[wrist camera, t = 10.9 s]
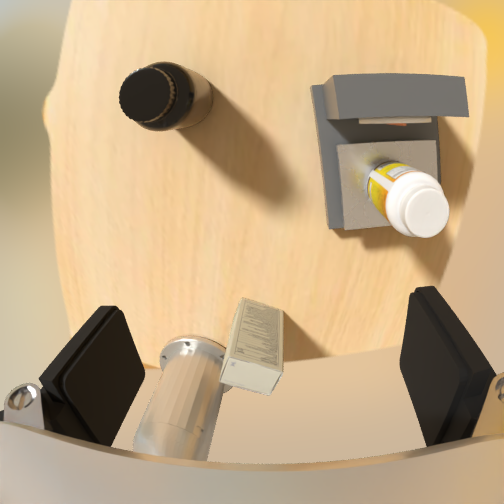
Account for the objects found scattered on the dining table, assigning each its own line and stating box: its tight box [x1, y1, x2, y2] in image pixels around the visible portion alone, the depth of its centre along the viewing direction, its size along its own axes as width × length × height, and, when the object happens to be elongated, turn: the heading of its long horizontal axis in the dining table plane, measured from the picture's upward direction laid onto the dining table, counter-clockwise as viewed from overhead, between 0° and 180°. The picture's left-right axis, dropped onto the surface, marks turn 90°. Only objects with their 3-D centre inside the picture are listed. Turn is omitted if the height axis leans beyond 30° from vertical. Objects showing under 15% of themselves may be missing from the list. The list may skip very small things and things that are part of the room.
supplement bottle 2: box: [367, 161, 449, 238], centre depth 26 cm, size 6×6×10 cm
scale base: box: [310, 73, 469, 229], centre depth 29 cm, size 16×14×11 cm
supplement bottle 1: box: [119, 62, 213, 131], centre depth 28 cm, size 7×7×12 cm
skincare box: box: [219, 298, 284, 395], centre depth 38 cm, size 6×4×12 cm
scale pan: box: [336, 140, 438, 230], centre depth 32 cm, size 9×11×2 cm
